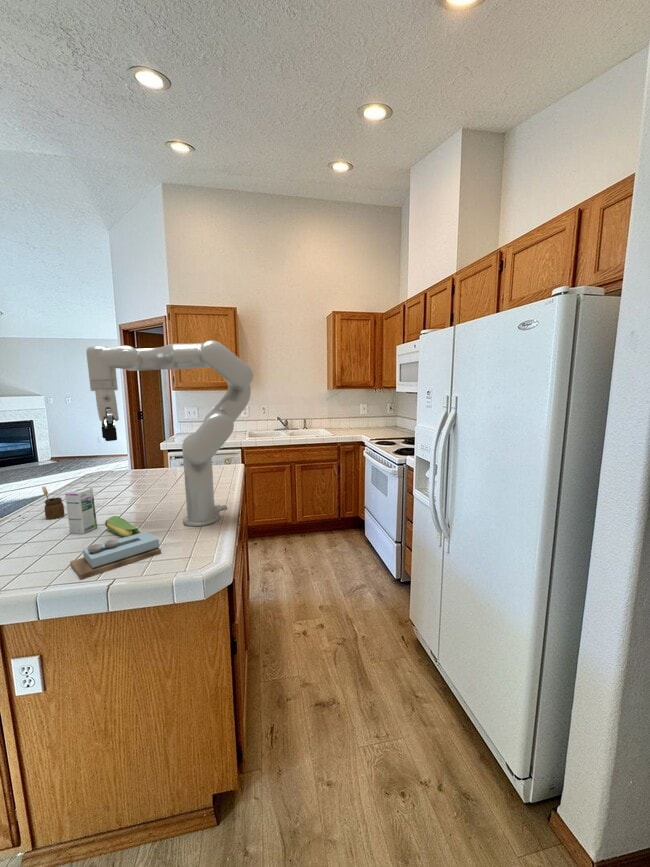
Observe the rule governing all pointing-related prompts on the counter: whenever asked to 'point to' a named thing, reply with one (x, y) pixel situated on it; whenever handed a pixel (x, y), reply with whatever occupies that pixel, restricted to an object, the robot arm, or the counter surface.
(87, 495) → the syrup box
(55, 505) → the utensil holder
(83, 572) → the board
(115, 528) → the edible corn
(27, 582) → the counter surface
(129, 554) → the panel
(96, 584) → the counter surface
